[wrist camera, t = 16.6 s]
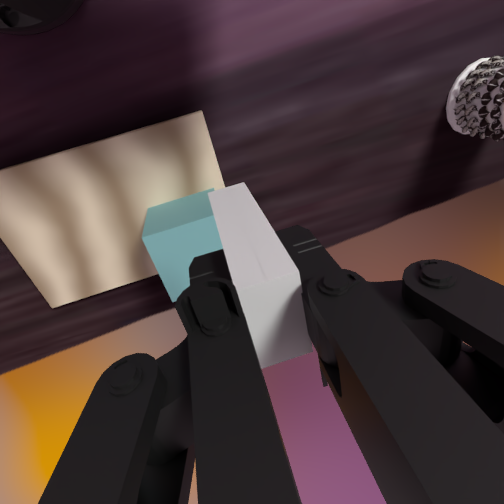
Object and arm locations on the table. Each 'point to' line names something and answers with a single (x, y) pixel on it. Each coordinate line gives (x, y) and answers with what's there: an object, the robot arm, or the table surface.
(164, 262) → the teal cube
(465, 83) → the decorative candle
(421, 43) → the table surface
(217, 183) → the base board
